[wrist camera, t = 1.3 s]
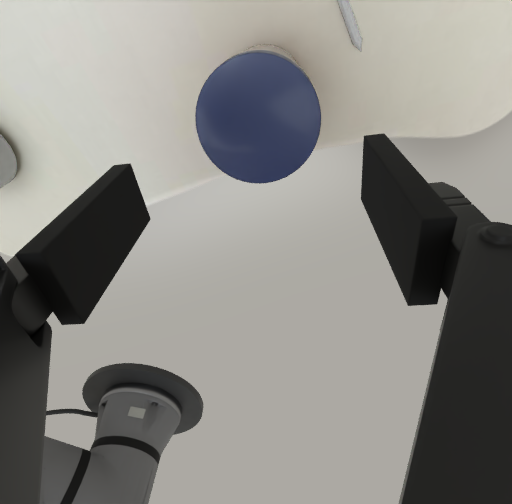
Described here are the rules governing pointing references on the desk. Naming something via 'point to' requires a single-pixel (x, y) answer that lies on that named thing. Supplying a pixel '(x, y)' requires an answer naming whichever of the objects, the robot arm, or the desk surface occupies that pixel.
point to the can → (6, 162)
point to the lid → (258, 116)
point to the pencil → (351, 23)
